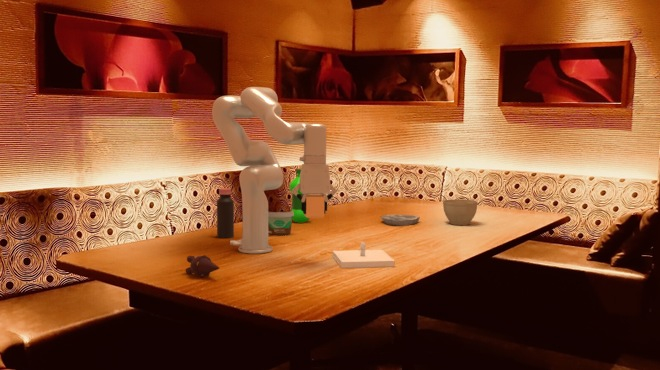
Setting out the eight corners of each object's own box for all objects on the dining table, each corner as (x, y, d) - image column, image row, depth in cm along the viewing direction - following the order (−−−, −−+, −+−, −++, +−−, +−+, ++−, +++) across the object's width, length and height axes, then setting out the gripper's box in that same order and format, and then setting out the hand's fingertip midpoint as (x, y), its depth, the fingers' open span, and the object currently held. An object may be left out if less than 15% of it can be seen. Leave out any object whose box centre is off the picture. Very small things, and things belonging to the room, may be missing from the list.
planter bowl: (474, 221, 309) (475, 199, 308) (479, 227, 293) (479, 203, 292) (441, 220, 310) (441, 198, 309) (443, 226, 294) (444, 203, 293)
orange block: (306, 217, 214) (306, 196, 213) (304, 214, 220) (304, 194, 219) (324, 217, 215) (324, 196, 214) (321, 214, 221) (321, 194, 220)
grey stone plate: (395, 219, 316) (395, 213, 316) (424, 223, 305) (425, 216, 305) (371, 223, 301) (372, 217, 301) (402, 228, 290) (402, 221, 290)
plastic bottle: (311, 223, 297) (311, 170, 295) (288, 223, 298) (288, 170, 295) (312, 220, 307) (312, 168, 305) (290, 220, 308) (290, 168, 305)
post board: (341, 268, 212) (342, 248, 211) (332, 256, 229) (333, 238, 229) (394, 266, 215) (394, 247, 214) (381, 255, 232) (382, 237, 232)
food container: (267, 237, 265) (267, 213, 264) (265, 234, 271) (265, 210, 269) (296, 235, 268) (296, 212, 267) (293, 233, 274) (293, 210, 273)
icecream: (229, 257, 197) (197, 254, 207) (210, 255, 192) (179, 252, 201) (226, 280, 196) (194, 276, 206) (208, 278, 191) (176, 274, 200)
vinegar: (230, 238, 260) (230, 189, 257) (214, 238, 261) (214, 189, 259) (236, 235, 266) (235, 188, 264) (220, 235, 268) (220, 187, 265)
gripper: (290, 161, 210) (290, 215, 213) (342, 161, 213) (341, 214, 215) (288, 159, 218) (287, 211, 220) (338, 159, 221) (337, 211, 223)
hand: (314, 212), depth 218 cm, fingers closed on orange block, 5 cm apart
